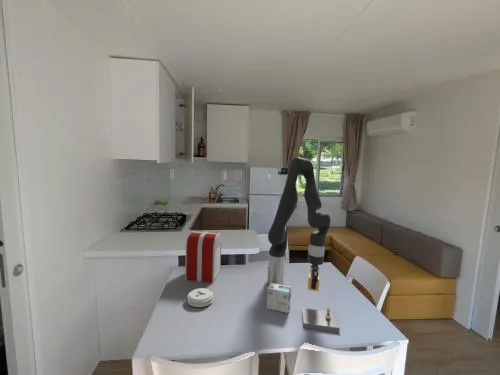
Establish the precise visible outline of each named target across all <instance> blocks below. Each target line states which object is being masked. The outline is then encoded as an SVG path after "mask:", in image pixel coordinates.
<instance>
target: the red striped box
mask: <svg viewBox="0 0 500 375" xmlns="http://www.w3.org/2000/svg"><path fill="white" fill-rule="evenodd" d="M221 260H222V235H221V233H220V232H213V231H205V230H204V231H201V230H199V231H197V230H192V231H191V232H190V233H188V235H187V237H186V242H185V266H184V267H185V268H184V269H185V270H184V273H185V276H184V280H185V281H190V282H191V281H192V282H197V283H198V282H199V283H210V284H214V283H215V281H216V280H217V278H218V277H219V275H220V273H221V269H222V268H221V265H222V264H221Z"/></svg>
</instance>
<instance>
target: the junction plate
mask: <svg viewBox="0 0 500 375" xmlns="http://www.w3.org/2000/svg"><path fill="white" fill-rule="evenodd" d="M301 312H303V313H302V323H303V326H304V327H303V326H302V327H303V328H304V329H311V330H319V331H326V332H334V333H335V332H336V333H340V331H341V329H340V327H341V326H340V324H339V321H338V318H337V314H336V311H333V310H330V315H331V319H330V320H327V319H326V314H327V310H322V309H315V308H309V307H308V308H307V307H302V310H301Z"/></svg>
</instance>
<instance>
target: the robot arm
mask: <svg viewBox="0 0 500 375" xmlns="http://www.w3.org/2000/svg"><path fill="white" fill-rule="evenodd" d="M289 164H290V165H289V168H288V172H287V176H286V180H285V183H284V188H283V190H282V194H281V196H280V200H279V203H278V206H277V209H276V211H275V212H276V213H275V215H274V216H275V217H274V220H273V222H272V224H271V227H270V229H269V230H268V234H267V239H268V240H267V241H268V242H269V243H270V244H271V246H270V248H269V250H268V268H267V279H266V280H267V281H266V282H267V283H266V284H267V285H270V284H271V283H275V284H280V285H284V279H285V278H284V276H285V259H286V258H285V257H286V252H287V248H288V247H287V246H288V232H287V229H286V226H287V224H288V222H289V220H290V219H291V217H292V215H293V214H294V212H295V210H296V207H297V203H298V201H299V196H298V195H299V194H298V190H297V181H298V177H299V176H303V178H304V180H305V188H304V192H303V196H304V201H305V204H306V207H307V222H308V225H309V226H310V227H311V228H312V229H313V228H314V229H316V230H313V231H312V232H310V234H309V243H308V244H309V245H308V252H307V262H308V263H309V264H310V270H309V271H310V272H309V273H310V274H311V276H312V280H311V281H312V283H311V289H316V283H317V282H318V275H319V274H320V273H319V272H320V266H322V265H323V264H324V260H325V259H324V258H325V243H326V236H327V233H328V231H329V229H330V226H331V217H330V215H329V213H327V212H317V211H318V210H320V209H321V208H322V207H323V206H322V202H321V201H322V200H321V198H320V195H319V193H318V188H317V183H316V177H315V171H314V165H313V162H312V161H311V160H310V159H307V158H304V157H299V156H295V157H293V158H292V159H291V161H290V163H289ZM312 274H313V275H312ZM315 279H316V280H315Z"/></svg>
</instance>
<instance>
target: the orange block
mask: <svg viewBox="0 0 500 375" xmlns="http://www.w3.org/2000/svg"><path fill="white" fill-rule="evenodd" d="M312 275H313V274H312ZM311 280H312V276H311V273H308V275H307V290H308V291H316V292H319V287H320V275H319V274H318V282H317V283H316V289H311V283H312V281H311ZM315 280H316V279H315Z"/></svg>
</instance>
